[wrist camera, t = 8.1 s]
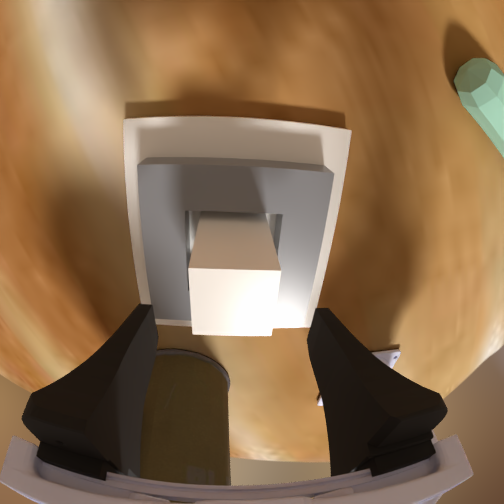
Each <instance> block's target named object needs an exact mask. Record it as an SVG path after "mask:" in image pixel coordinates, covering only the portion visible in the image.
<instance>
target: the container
mask: <svg viewBox="0 0 504 504" xmlns="http://www.w3.org/2000/svg"><path fill="white" fill-rule="evenodd" d="M454 83H455V86H456V89H457V92H458V94H459V97H460V100H461V103H462V105H463V106H464V107H465V108H466V110H467V111H468V112H469V113H470V114H471V115H472V117H473V118H474V119H475V120H476V121H477V123H478V124H479V125H480V126H481V128H482V129H483V130H484V132H485V133H486V134H487V135H488V137H489V138H490V139H491V141H492V142H493V143H494V145H495V146H496V148H497V149H498V150H499V152H500V153H501V155H502V156H503V158H504V74H503V73H502V71H501V70H500V69H499V67H498V66H497V65H496V64H495V63H493V62H491V61H490V60H488V59H486V58H472V59H471V60H469V61H468V62H466V63H465V64H464V65H462V66H461V67H460V68H459V70H458V72H457V74H456V76H455V79H454Z"/></svg>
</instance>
